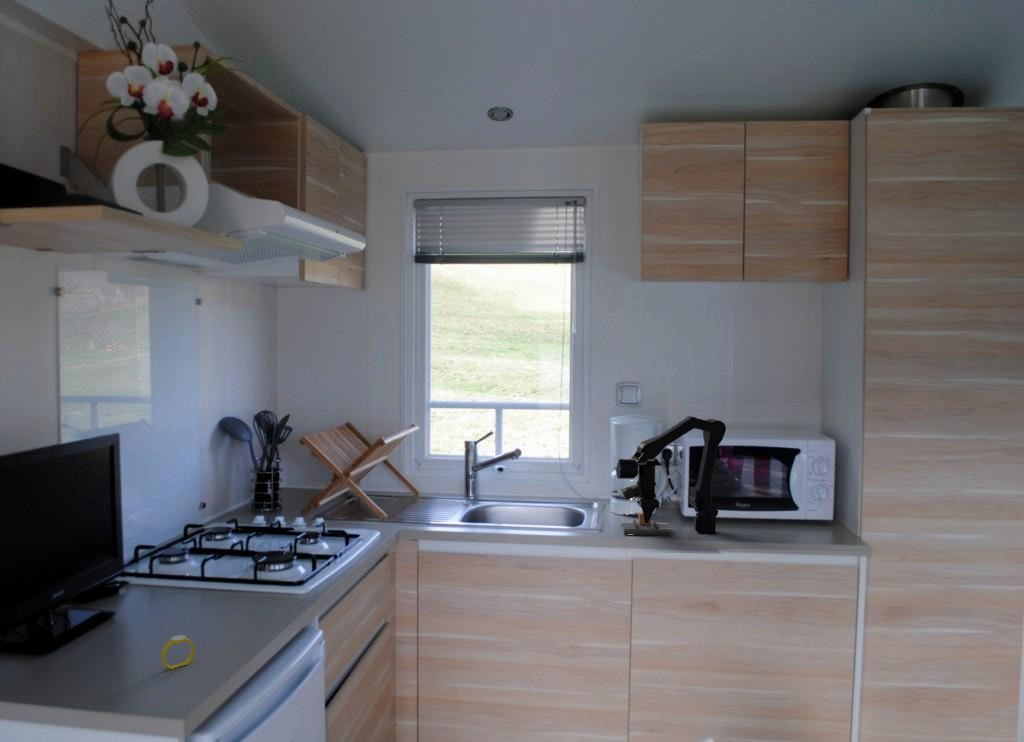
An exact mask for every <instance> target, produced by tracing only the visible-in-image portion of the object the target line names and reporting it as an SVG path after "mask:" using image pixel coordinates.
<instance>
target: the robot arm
mask: <svg viewBox="0 0 1024 742" xmlns="http://www.w3.org/2000/svg"><path fill="white" fill-rule="evenodd" d="M726 426H727V425H725V423H724V422H723V421H721V420H719V419H714V418H709V419H701V418H697V417H695V416H691V415H689V416H686V417H685V418H684V419H682V420H681V421H679V422H678V423H677V424H674V425H673V426H672V427H670V428H668V429H667V430H665V431H664V432H662V433H661V434H659V435H657V436H655V437H652V438H651V437H650V438H648V439H645V440H643V441H641V442H639V443H638V445H637V446H636V447H637V448H636V451H634V452H635V453H633V455H632V457H630V458H618V459H617V463H616V467H615V473H616V478H617V479H618V480H622V479H623V480H624V479H625V480H627V479H632V480H633V479H635V478H636V477H638V479H637V480H636V484H633V485H630V486H629V485H628V486H629V487H626V488H624V489H622V493H623V495H624V498H625V500H628V499H630V498H633V497H635V498H637V497H638V501H637V503H638V504H637V505H638V506H639V508H641V513H643V517H644V522H645V523H648V522H649V520H650V518H651V519H652V516H653V513H654V511H655V509H659V508H660V501H659V500H658V498H657V494H656V487H657V482H656V466H657V467H658V466H659V467H660V466H662V463H661V462H660V461H659V460H658V458H657V457H658V456H659V455H660V454H661V453H662V452H663V451H664V449H665V448H666V447H667V446H669V445H670V444H671V443H673V442H675V441H676V440H678V439H680V438H681V437H683V436H684V435H686V434H687V433H689V432H691V431H692V430H694V429H695V430H700V431H702V437H703V441H704V444H703V450H702V454H701V460H700V465H699V470H698V471H699V472H698V476H697V482H696V484H695V486H694V487H693V486H690V487H689V493H688V496H687V499H689V502H688V503H689V504H690V505H691V506H692V507H693V509H694V512H695V517H694V518H693V521H694V522H693V529H694V530H695V532H697V534H700V535H701V534H707V535H708V534H709V535H712V534H713V535H714V534H715V535H716V534H718V531H716V527H717V526H716V525H717V524H716V522H717V521H716V520H717V519H716V518H717V517H718V514H719V510H718V509H717V507H715V506H714V504H713V493H712V488H711V484H712V479H713V474H714V469H715V463H716V457H717V452H718V447H719V445H720V444H721V442H723V439H724V436H725V434H726V433H727V432H726V431H727V427H726Z"/></svg>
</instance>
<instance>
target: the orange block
mask: <svg viewBox="0 0 1024 742" xmlns="http://www.w3.org/2000/svg"><path fill="white" fill-rule="evenodd" d="M638 523H639V524H649V525H651V523H652V517H651V518H650V520H649V522H648V523H645V522H644V517H643V512H638Z"/></svg>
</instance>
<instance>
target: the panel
mask: <svg viewBox="0 0 1024 742" xmlns="http://www.w3.org/2000/svg"><path fill="white" fill-rule="evenodd" d="M669 524H670V523H668V522H667V523H666V522H665V523H664V522H657V521H656V520H652V522H651V525H649V524H639V522H637V520H635V519H634V520H632V522H621V523H620V527H622V529H621V531H622V530H623V531H622V533H623V532H670V536H672V530H673V528H672V527H670V526H669Z"/></svg>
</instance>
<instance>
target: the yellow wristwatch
mask: <svg viewBox="0 0 1024 742" xmlns="http://www.w3.org/2000/svg"><path fill="white" fill-rule="evenodd" d="M185 642H186V643H188V644H189V645H190V652H189V656H188V657H187V658H186V660H185V661H183V662H180V663H177V664H174V665H170V664H167V662H166V654H167V653H168V651H169V649H170V648H171V647H172V646H173V645H176V644H177V645H178V644H183V643H185ZM195 649H196V648H195V644H194V643H193V642H192V641H191V640H190V639H189V638H187V636H186V635H183V634H181V635H174V636H172V637H171V638H170V641H168V642H167V643H166V644H165V645H164V647H163V649H162V651H161V654H160V656H161V657H160V658H161V659H160V660H161V662H162V665H163V666H164V667H165V668H166V669H169V670H171V669H173V670H175V669H174V668H176V667H180V666H182V665H186V664H188V665H189V664H190V663H191V662H192V661H193V659H194V656H195V653H196V650H195ZM180 668H181V667H180ZM176 669H177V668H176Z"/></svg>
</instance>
